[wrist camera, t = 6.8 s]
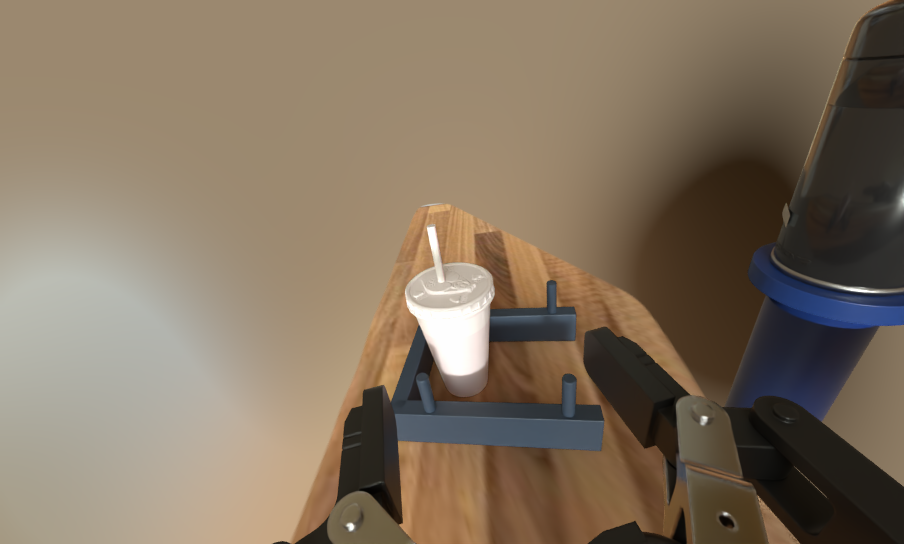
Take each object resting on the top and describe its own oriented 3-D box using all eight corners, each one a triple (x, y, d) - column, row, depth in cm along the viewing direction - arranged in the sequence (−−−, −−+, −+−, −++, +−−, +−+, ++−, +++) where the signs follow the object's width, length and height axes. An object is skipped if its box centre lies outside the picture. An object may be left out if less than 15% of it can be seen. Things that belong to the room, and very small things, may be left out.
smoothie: (452, 345, 33) (425, 206, 26) (515, 363, 29) (503, 210, 22) (414, 395, 28) (368, 243, 21) (483, 424, 25) (456, 255, 18)
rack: (573, 332, 32) (575, 277, 29) (601, 451, 22) (608, 387, 19) (429, 334, 34) (417, 285, 32) (396, 440, 25) (374, 383, 22)
